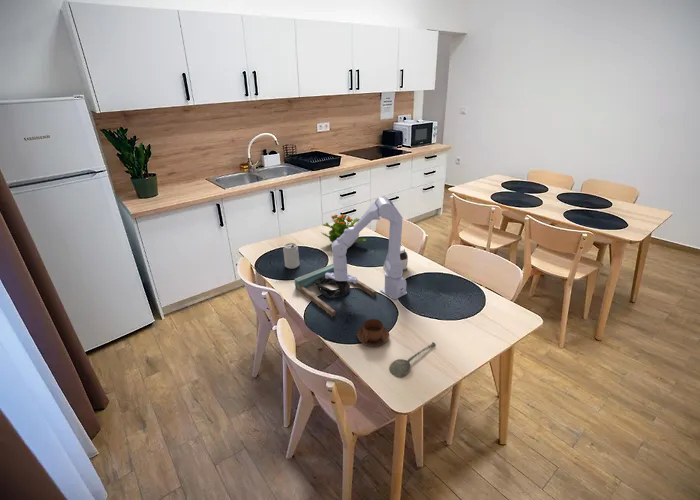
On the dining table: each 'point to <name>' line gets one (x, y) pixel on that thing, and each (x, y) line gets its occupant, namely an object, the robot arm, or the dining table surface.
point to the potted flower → (340, 227)
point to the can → (291, 255)
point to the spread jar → (403, 259)
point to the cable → (328, 292)
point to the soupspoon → (404, 364)
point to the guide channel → (310, 278)
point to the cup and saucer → (373, 333)
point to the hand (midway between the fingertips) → (342, 294)
